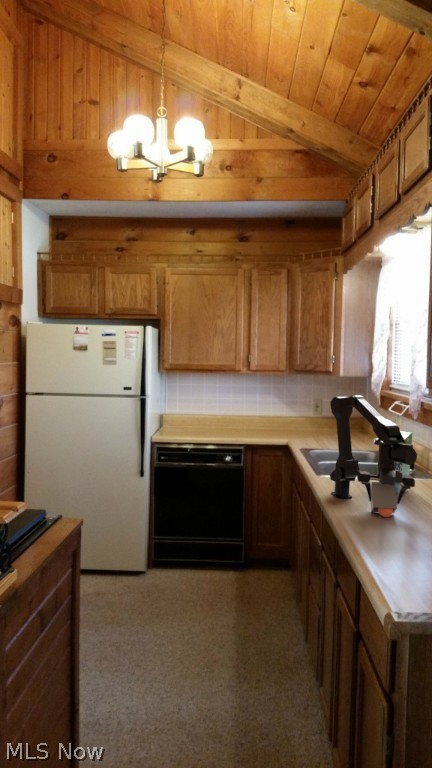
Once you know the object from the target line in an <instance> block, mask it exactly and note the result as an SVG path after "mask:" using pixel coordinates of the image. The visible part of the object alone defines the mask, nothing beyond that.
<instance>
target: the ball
mask: <svg viewBox="0 0 432 768" xmlns="http://www.w3.org/2000/svg"><path fill="white" fill-rule="evenodd" d="M377 513H379V515H380V516H381V517H383V518H389V517H391V516H392V515H393V514H394V513H393V509H392V508H378V512H377Z"/></svg>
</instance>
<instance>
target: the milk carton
mask: <svg viewBox="0 0 432 768" xmlns="http://www.w3.org/2000/svg"><path fill="white" fill-rule="evenodd" d="M400 432H401V434H402V436H403V438H404V440H405V442H406V444H411V445H413V443H412V442H413V432H411V431H410V432H409V431H406V430H405V431H403V430H400ZM410 468H411V465H407V464H403V463H399V462H395V471H402V475H408V476H410ZM378 482H380V481H378ZM395 488H396V495H398V488H399V483H397V482H396V484H395ZM408 491H409V489H407V490H406V491H405V492H404V493H406V492H408Z"/></svg>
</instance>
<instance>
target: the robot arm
mask: <svg viewBox="0 0 432 768" xmlns="http://www.w3.org/2000/svg"><path fill="white" fill-rule="evenodd" d="M330 409H331V414H332V415H333V417H334V418H335V421H336V430H337V431H336V433H337V446H338V458H337V459H336V461H335V468H334V470H333V471H331V473H330V474H329V479H330V481H332V482H334V491H330V493H331V494H332V495H333V496H334V497H335V498H336V499H352V498H353V496H352V495H351V494H350V489H351V488H350V486H351V485H350V484H351V482H355V481H356V478H357V482H360V483H361V485H365V488H366V493H367V497H368V500H369V502H370V503H371V484H372V483H371V481H376V482H379V481H380V482H381V484H391V485H395V484H396V482H397V483H399V488H398V494H396V502H397V505H399V504H400V502H401V500H402V498H403V496H404V494H405V493H406V492H407V491H406V490H407V489H408V490H410V489H411V488H415V486H416V481H415V480H416V479H414V476H412V475H409V476H408V475H402V471H395V462H399V463H403V464H407V465H410V466H412V465H414V464H415V463H416V461H417V460H418V459H417V458H418V454H417V452H416V450H415V448H414V445H413V444H412V445H411V444H406V442H405V440H404V438H403V436H402V434H401V432H400V431H401V428H400V427H399V425H398V424H396V423H395V422H393V421H392V420H390V419H387V418H386V417H384V416H382V414H380V413H379V412H378V411H377V410H376V409H375V408H374V407H373V406H372V405H371V404H370V403H369V402H368V401H367V400H366V399H365V397H364V396H363V395H350V396H334V397H332V399H331V400H330ZM353 409H356V411H357V412H358V413H359V415H361V416H362V417H363V418H364V419H365V420H366V422H368V423H369V424H370V425H371V427H372V431H373V433H374V434H375V436H376V437H377V440H375V441H374V442H373V445H375V446H378V453H377V455H378V456H377V469H376V472H377V473H376V474H370V472H369V471H366V470H364V471H362V470H360V467H359V460H358V459H356V458H355V457H354V456H353V450H352V435H351V426H350V424H351V423H350V418H351V416H352V413H353ZM405 491H406V492H405Z"/></svg>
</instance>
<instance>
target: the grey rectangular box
mask: <svg viewBox="0 0 432 768" xmlns="http://www.w3.org/2000/svg"><path fill="white" fill-rule="evenodd" d="M370 484H371V502H370V511H371V513H379V512H378V508H392V509H393V513H392V514H395V513H396V511H397V510H398V506H397V494H396V488H395V485H391V484H381V482H379V481H372V482H371V483H370Z"/></svg>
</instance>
